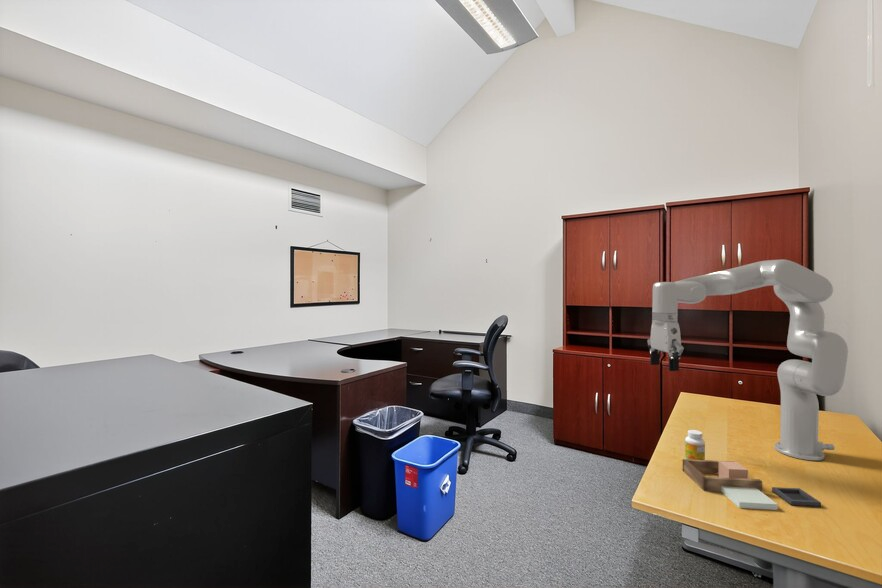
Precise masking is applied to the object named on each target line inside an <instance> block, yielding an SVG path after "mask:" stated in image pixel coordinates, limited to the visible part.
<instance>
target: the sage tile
mask: <svg viewBox="0 0 882 588" xmlns="http://www.w3.org/2000/svg"><path fill="white" fill-rule="evenodd" d="M721 494H723V495H724V496H725V497H727V498H728V499H729V500H730V501H731V502H732V503H733V504H734V505H735V506H736V507H738V508H739V509H752V510H753V509H754V510H769V511H771V510H773V511H778V502H775V501H774V500H773V499H771V498H770V497H769V496H768V495H766V494H765V493H764V492H763V491H762V492H761V491H760V490H758V489H757V488H746V487H725V486H721Z"/></svg>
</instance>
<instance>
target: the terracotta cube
mask: <svg viewBox="0 0 882 588" xmlns="http://www.w3.org/2000/svg"><path fill="white" fill-rule="evenodd" d="M718 461H719V473H718V477H720V478H742V479H749V470H748V469H747V468H746V467H744V466H743V465H742V464H740V463H739V462H738V461H735V462H725V461H726V460H718Z"/></svg>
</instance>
